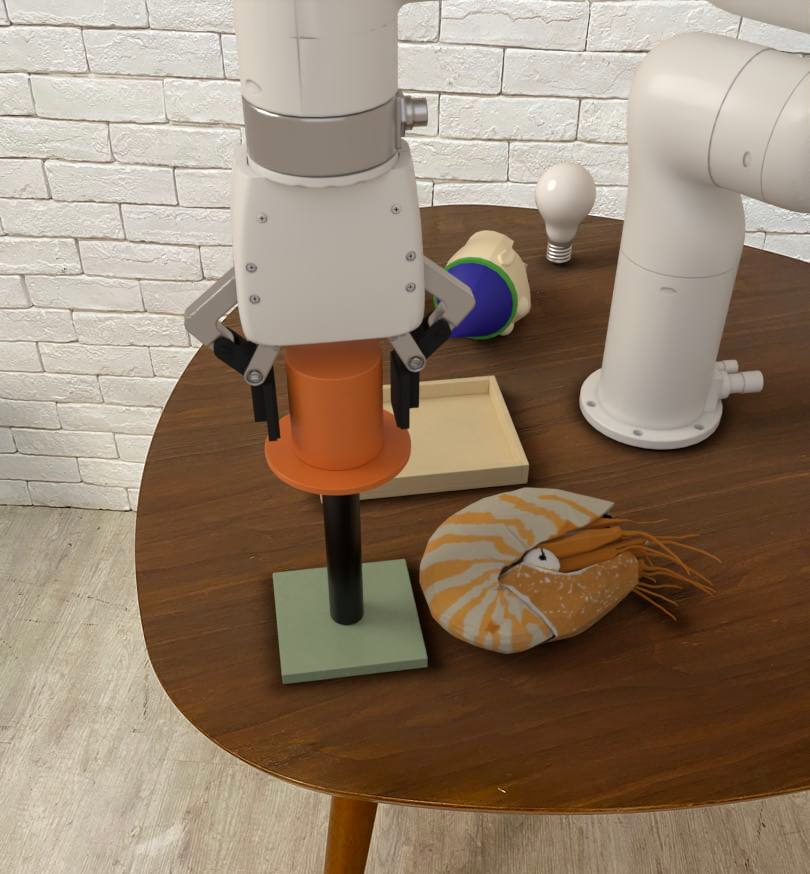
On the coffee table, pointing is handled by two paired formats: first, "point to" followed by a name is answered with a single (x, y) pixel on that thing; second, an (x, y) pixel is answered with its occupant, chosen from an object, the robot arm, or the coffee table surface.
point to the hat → (337, 421)
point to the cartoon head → (490, 285)
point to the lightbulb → (564, 206)
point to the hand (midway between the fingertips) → (336, 420)
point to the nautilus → (536, 568)
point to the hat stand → (346, 608)
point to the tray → (457, 440)
